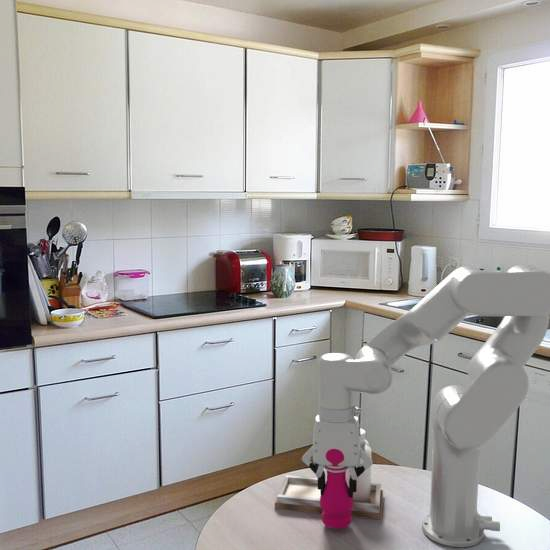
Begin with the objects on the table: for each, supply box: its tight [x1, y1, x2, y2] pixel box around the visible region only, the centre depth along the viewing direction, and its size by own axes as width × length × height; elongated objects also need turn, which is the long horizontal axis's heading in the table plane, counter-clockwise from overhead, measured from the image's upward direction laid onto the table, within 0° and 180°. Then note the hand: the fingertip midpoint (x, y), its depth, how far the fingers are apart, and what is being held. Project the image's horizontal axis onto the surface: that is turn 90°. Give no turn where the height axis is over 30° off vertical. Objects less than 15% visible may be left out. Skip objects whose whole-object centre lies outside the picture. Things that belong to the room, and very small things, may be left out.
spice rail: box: [274, 474, 384, 520], centre depth 146 cm, size 24×11×3 cm, turn 79°
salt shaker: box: [345, 440, 372, 503], centre depth 144 cm, size 7×7×14 cm
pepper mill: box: [320, 449, 353, 530], centre depth 134 cm, size 7×7×20 cm
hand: (337, 492), depth 135 cm, fingers closed on pepper mill, 5 cm apart
